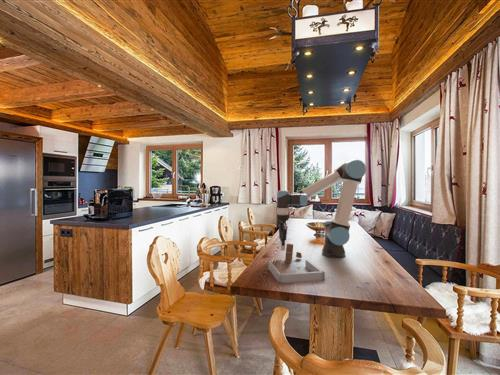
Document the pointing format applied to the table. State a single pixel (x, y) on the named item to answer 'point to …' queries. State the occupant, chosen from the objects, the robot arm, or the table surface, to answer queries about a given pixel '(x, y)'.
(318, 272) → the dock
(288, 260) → the wooden block set
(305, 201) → the robot arm
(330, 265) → the table surface
